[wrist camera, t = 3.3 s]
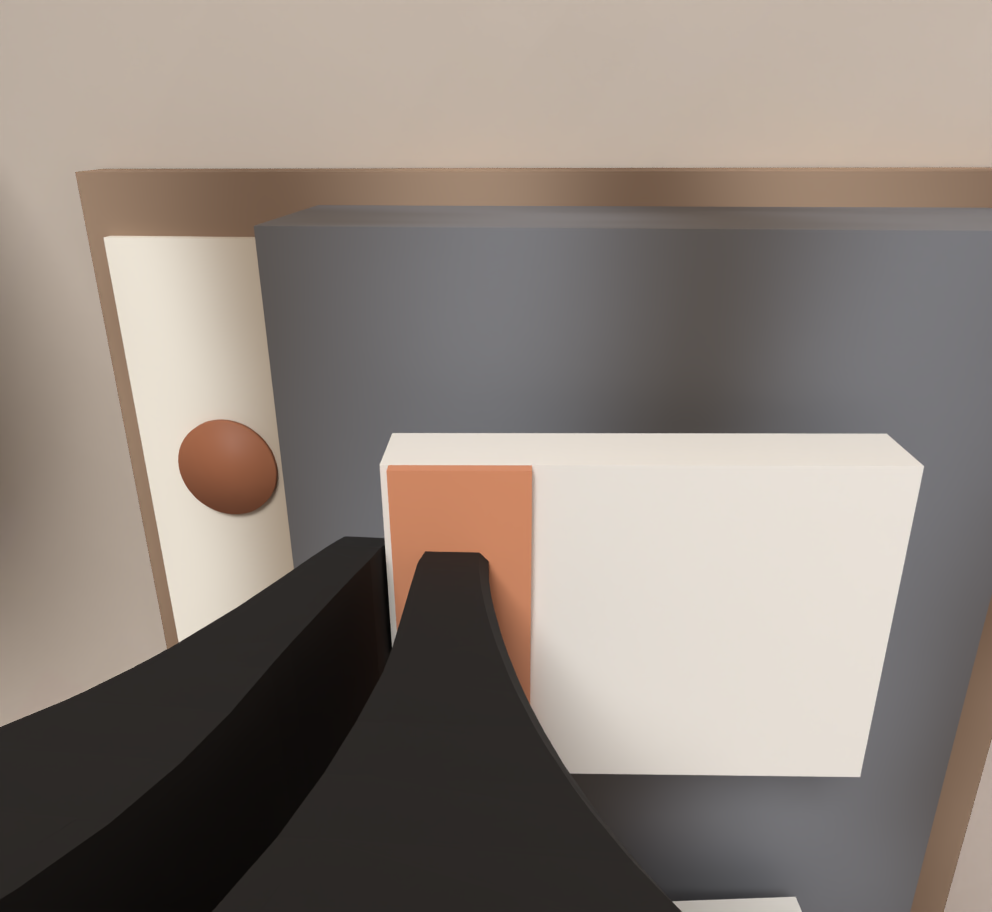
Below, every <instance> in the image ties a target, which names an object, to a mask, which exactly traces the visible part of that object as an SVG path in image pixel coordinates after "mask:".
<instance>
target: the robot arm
mask: <svg viewBox="0 0 992 912" xmlns="http://www.w3.org/2000/svg"><path fill="white" fill-rule="evenodd" d="M0 912H682V911H681V910H680V909H679V908H678V907H677V906H676V905H675V904H674V903H673V902H672V901H671V900H670V899H669V897H668V896H667V895H666V894H665V893H664V892H663V891H662V890H661V889H660V887H659V886H658V885H657V884H656V883H655V882H654V881H653V880H652V879H651V878H650V876H649V875H648V874H647V873H646V872H645V871H644V870H643V869H642V867H641V866H640V865H639V864H638V863H637V861H636V860H635V859H634V858H633V857H632V855H631V854H630V853H629V852H628V850H627V849H626V848H625V847H624V846H623V844H622V843H621V842H620V841H619V840H618V838H617V837H616V836H615V835H614V833H613V832H612V831H611V830H610V829H609V827H608V826H607V825H606V823H605V822H604V821H603V819H602V818H601V816H600V815H599V813H598V812H597V811H596V809H595V808H594V806H593V805H592V804H591V802H590V801H589V799H588V798H587V797H586V795H585V794H584V792H583V791H582V790H581V788H580V787H579V785H578V784H577V782H576V781H575V780H574V778H573V777H572V775H571V774H570V773H569V771H568V770H567V768H566V767H565V765H564V764H563V762H562V761H561V759H560V757H559V756H558V754H557V752H556V750H555V749H554V747H553V745H552V744H551V742H550V740H549V739H548V737H547V735H546V734H545V732H544V730H543V728H542V726H541V724H540V723H539V721H538V719H537V717H536V715H535V713H534V711H533V709H532V707H531V705H530V703H529V701H528V699H527V697H526V695H525V693H524V691H523V688H522V686H521V684H520V682H519V680H518V677H517V675H516V672H515V670H514V667H513V665H512V662H511V660H510V657H509V655H508V652H507V649H506V646H505V644H504V641H503V638H502V635H501V631H500V628H499V624H498V621H497V617H496V614H495V610H494V606H493V602H492V597H491V591H490V584H489V561H488V560H487V559H486V558H485V557H484V556H483V555H482V554H481V553H480V552H433V551H425V552H424V554H423V555H422V557H421V558H420V560H419V561H418V564H417V567H416V570H415V573H414V576H413V579H412V583H411V586H410V589H409V592H408V596H407V599H406V603H405V606H404V610H403V613H402V616H401V620H400V623H399V627H398V630H397V633H396V637H395V640H394V643H393V647H392V640H391V625H390V610H389V596H388V581H387V566H386V552H385V538H374V537H351V536H344V537H343V538H341V539H339V540H337V541H335V542H334V543H332V544H330V545H329V546H327V547H326V548H324V549H323V550H321V551H320V552H318V553H317V554H315V555H314V556H312V557H311V558H309V559H308V560H306V561H305V562H303V563H302V564H301V565H299V566H298V567H296V568H295V569H293V570H292V571H290V572H289V573H287V574H286V575H285V576H283V577H282V578H280V579H279V580H277V581H276V582H274V583H273V584H271V585H270V586H268V587H267V588H265V589H264V590H262V591H261V592H259V593H258V594H256V595H255V596H253V597H252V598H250V599H249V600H247V601H246V602H244V603H243V604H241V605H240V606H238V607H237V608H235V609H233V610H232V611H230V612H228V613H227V614H225V615H223V616H222V617H220V618H218V619H217V620H215V621H213V622H212V623H210V624H209V625H207V626H205V627H204V628H202V629H200V630H199V631H197V632H195V633H194V634H192V635H190V636H189V637H187V638H185V639H184V640H182V641H180V642H179V643H177V644H175V645H174V646H172V647H170V648H169V649H167V650H165V651H163V652H161V653H160V654H158V655H156V656H154V657H152V658H151V659H149V660H147V661H145V662H143V663H141V664H139V665H137V666H135V667H134V668H132V669H130V670H128V671H126V672H124V673H122V674H120V675H117V676H115V677H113V678H111V679H109V680H107V681H105V682H103V683H101V684H99V685H97V686H95V687H93V688H91V689H89V690H87V691H85V692H83V693H80V694H78V695H76V696H74V697H72V698H70V699H67V700H65V701H63V702H60V703H58V704H55V705H53V706H51V707H48V708H46V709H43V710H41V711H38V712H36V713H34V714H31V715H29V716H26V717H24V718H22V719H19V720H17V721H14V722H12V723H9V724H7V725H5V726H2V727H0Z"/></svg>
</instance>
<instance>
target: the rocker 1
mask: <svg viewBox="0 0 992 912" xmlns="http://www.w3.org/2000/svg"><path fill="white" fill-rule="evenodd" d="M923 469H924V466H923V465H922V464H921V463H920V462H919V461H918V460H916V459H915V458H914V457H913V456H912V455H911V454H910V453H908V452H907V451H906V450H905V449H904V448H903V447H902V446H900V445H899V444H898V443H897V442H896V441H895V440H894V439H892V438H891V437H890V436H889V435H888V434H789V433H392V435H391V438H390V440H389V443H388V445H387V448H386V450H385V453H384V455H383V458H382V460H381V463H380V478H381V493H382V508H383V522H384V537H385V552H386V566H387V581H388V596H389V610H390V625H391V640H392V647H393V643H394V640H395V637H396V633H397V630H398V627H399V623H400V620H401V616H402V613H403V610H404V606H405V603H406V599H407V596H408V592H409V589H410V586H411V583H412V579H413V576H414V573H415V570H416V567H417V564H418V561H419V560H420V558H421V557H422V555H423V554H424V552H425V551H433V552H480V553H481V554H482V555H483V556H484V557H485V558H486V559H487V560H488V561H489V584H490V591H491V597H492V602H493V606H494V610H495V614H496V617H497V621H498V624H499V628H500V631H501V635H502V638H503V641H504V644H505V646H506V649H507V652H508V655H509V657H510V660H511V662H512V665H513V667H514V670H515V672H516V675H517V677H518V680H519V682H520V684H521V686H522V688H523V691H524V693H525V695H526V697H527V699H528V701H529V703H530V705H531V707H532V709H533V711H534V713H535V715H536V717H537V719H538V721H539V723H540V724H541V726H542V728H543V730H544V732H545V734H546V735H547V737H548V739H549V740H550V742H551V744H552V745H553V747H554V749H555V750H556V752H557V754H558V756H559V757H560V759H561V761H562V762H563V764H564V765H565V767H566V768H567V770H568V771H569V773H571V774H652V775H733V776H814V777H860V775H861V770H862V765H863V760H864V755H865V751H866V746H867V741H868V736H869V731H870V726H871V722H872V717H873V712H874V707H875V702H876V697H877V692H878V688H879V683H880V678H881V673H882V668H883V663H884V659H885V654H886V649H887V644H888V639H889V634H890V629H891V625H892V620H893V615H894V610H895V605H896V600H897V595H898V591H899V586H900V581H901V576H902V571H903V566H904V562H905V557H906V552H907V547H908V542H909V537H910V532H911V528H912V523H913V518H914V513H915V508H916V503H917V498H918V494H919V489H920V484H921V479H922V474H923Z"/></svg>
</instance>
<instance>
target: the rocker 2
mask: <svg viewBox="0 0 992 912" xmlns="http://www.w3.org/2000/svg"><path fill="white" fill-rule="evenodd" d="M672 902H673V903H674V904H675V905H676V906H677V907H678V908H679V909H680V910H681V911H682V912H802V911H801V908H800V906H799V904H798V901H797V899H796V897H775V898H748V899H721V900H694V901H672Z"/></svg>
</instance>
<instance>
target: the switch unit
mask: <svg viewBox="0 0 992 912" xmlns="http://www.w3.org/2000/svg"><path fill="white" fill-rule="evenodd" d="M75 173H76V178H77V183H78V189H79V194H80V199H81V204H82V209H83V214H84V220H85V225H86V230H87V235H88V240H89V246H90V251H91V256H92V261H93V266H94V271H95V277H96V282H97V287H98V292H99V297H100V303H101V308H102V313H103V318H104V323H105V329H106V334H107V339H108V344H109V349H110V354H111V360H112V365H113V370H114V375H115V380H116V386H117V391H118V396H119V401H120V406H121V411H122V417H123V422H124V427H125V432H126V437H127V443H128V448H129V453H130V458H131V463H132V469H133V474H134V479H135V484H136V489H137V494H138V500H139V505H140V510H141V515H142V520H143V526H144V531H145V536H146V541H147V546H148V551H149V557H150V562H151V567H152V572H153V577H154V583H155V588H156V593H157V598H158V603H159V609H160V614H161V619H162V624H163V629H164V634H165V640H166V645H167V649H169V648H170V647H172V646H174V645H175V644H177V643H179V642H180V641H182V640H184V639H185V638H187V637H189V636H190V635H192V634H194V633H195V632H197V631H199V630H200V629H202V628H204V627H205V626H207V625H209V624H210V623H212V622H213V621H215V620H217V619H218V618H220V617H222V616H223V615H225V614H227V613H228V612H230V611H232V610H233V609H235V608H237V607H238V606H240V605H241V604H243V603H244V602H246V601H247V600H249V599H250V598H252V597H253V596H255V595H256V594H258V593H259V592H261V591H262V590H264V589H265V588H267V587H268V586H270V585H271V584H273V583H274V582H276V581H277V580H279V579H280V578H282V577H283V576H285V575H286V574H287V573H289V572H290V571H292V570H293V569H295V568H296V567H298V566H299V565H301V564H302V563H303V562H305V561H306V560H308V559H309V558H311V557H312V556H314V555H315V554H317V553H318V552H320V551H321V550H323V549H324V548H326V547H327V546H329V545H330V544H332V543H334V542H335V541H337V540H339V539H341V538H343V537H344V536H351V537H374V538H385V537H384V522H383V508H382V493H381V478H380V463H381V460H382V458H383V455H384V453H385V450H386V448H387V445H388V443H389V440H390V438H391V435H392V433H789V434H888V435H889V436H890V437H891V438H892V439H894V440H895V441H896V442H897V443H898V444H899V445H900V446H902V447H903V448H904V449H905V450H906V451H907V452H908V453H910V454H911V455H912V456H913V457H914V458H915V459H916V460H918V461H919V462H920V463H921V464H922V465H923V466H924V469H923V474H922V479H921V484H920V489H919V494H918V498H917V503H916V508H915V513H914V518H913V523H912V528H911V532H910V537H909V542H908V547H907V552H906V557H905V562H904V566H903V571H902V576H901V581H900V586H899V591H898V595H897V600H896V605H895V610H894V615H893V620H892V625H891V629H890V634H889V639H888V644H887V649H886V654H885V659H884V663H883V668H882V673H881V678H880V683H879V688H878V692H877V697H876V702H875V707H874V712H873V717H872V722H871V726H870V731H869V736H868V741H867V746H866V751H865V755H864V760H863V765H862V770H861V775H860V777H814V776H733V775H652V774H571V773H570V774H571V775H572V777H573V778H574V780H575V781H576V782H577V784H578V785H579V787H580V788H581V790H582V791H583V792H584V794H585V795H586V797H587V798H588V799H589V801H590V802H591V804H592V805H593V806H594V808H595V809H596V811H597V812H598V813H599V815H600V816H601V818H602V819H603V821H604V822H605V823H606V825H607V826H608V827H609V829H610V830H611V831H612V832H613V833H614V835H615V836H616V837H617V838H618V840H619V841H620V842H621V843H622V844H623V846H624V847H625V848H626V849H627V850H628V852H629V853H630V854H631V855H632V857H633V858H634V859H635V860H636V861H637V863H638V864H639V865H640V866H641V867H642V869H643V870H644V871H645V872H646V873H647V874H648V875H649V876H650V878H651V879H652V880H653V881H654V882H655V883H656V884H657V885H658V886H659V887H660V889H661V890H662V891H663V892H664V893H665V894H666V895H667V896H668V897H669V899H670V900H671V901H694V900H721V899H748V898H775V897H796V899H797V901H798V904H799V906H800V908H801V911H802V912H944V908H945V905H946V901H947V898H948V894H949V890H950V887H951V883H952V880H953V876H954V872H955V869H956V865H957V862H958V858H959V855H960V851H961V847H962V844H963V840H964V837H965V833H966V829H967V826H968V822H969V819H970V815H971V811H972V808H973V804H974V801H975V797H976V793H977V790H978V786H979V783H980V779H981V776H982V772H983V768H984V765H985V761H986V758H987V754H988V750H989V747H990V743H991V740H992V168H398V169H98V170H90V171H81V172H75Z"/></svg>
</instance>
